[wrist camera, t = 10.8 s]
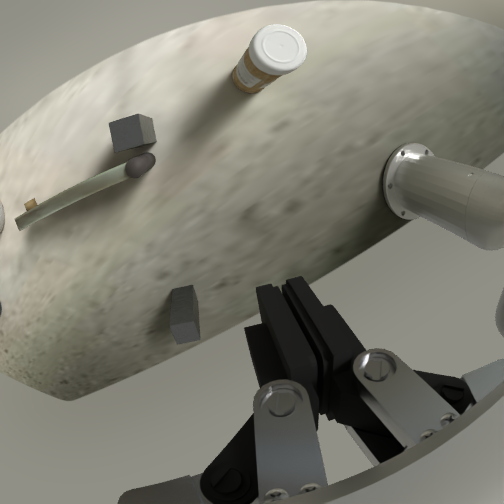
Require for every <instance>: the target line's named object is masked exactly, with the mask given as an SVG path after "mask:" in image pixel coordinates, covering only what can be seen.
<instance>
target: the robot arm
mask: <svg viewBox="0 0 504 504" xmlns="http://www.w3.org/2000/svg"><path fill="white" fill-rule="evenodd" d="M383 191H384V196H385V200H386V202H387V204H388V206H389V208H390V209H391V211H392V212H393V213H395V214H396V215H397V216H399V217H401V218H403V219H407V220H412V219H417V218H419V217H423V218H425V219H427V220H429V221H431V222H433V223H435V224H437V225H439V226H440V227H442V228H444V229H446V230H448V231H450V232H452V233H454V234H456V235H457V236H459V237H461V238H463V239H465V240H467V241H468V242H470V243H472V244H474V245H476V246H477V247H479V248H481V249H484V250H498V249H501V248H504V176H501V175H499V174H496V173H492V172H489V171H486V170H483V169H479V168H476V167H472V166H469V165H465V164H461V163H458V162H454V161H450V160H446V159H442V158H437V157H434V155H433V153H432V152H431V151H430V150H429V149H428V148H427V147H425V146H424V145H421V144H417V143H407V144H404V145H402V146H400V147H399V148H398V149H396V150H395V151H394V152H393V154H392V155H391V157H390V158H389V160H388V162H387V165H386V168H385V171H384V177H383ZM256 293H257V298H258V304H259V310H260V314H261V321H262V323H261V324H257V325H253V326H249V327H245V328H244V329H245V334H246V338H247V342H248V346H249V350H250V354H251V358H252V362H253V365H254V369H255V373H256V376H257V380H258V383H259V386H260V389H259V390H258V391H257V393H256V394H255V396H254V401H253V411H254V413H253V414H252V415H251V417H250V418H249V419H248V421H247V422H246V423H245V424H244V426H243V427H242V428H241V429H240V430H239V431H238V433H237V434H236V435H235V436H234V437H233V439H232V440H231V441H230V442H229V443H228V445H227V446H226V447H225V448H224V449H223V450H222V452H220V454H219V455H218V456H217V457H216V458H215V459H214V460H213V462H212V463H211V464H210V465H209V466H208V467H207V468H206V469H205V471H204V472H203V473H201V474H198V475H195V476H192V477H191V476H190V475H187V476H184V477H180V478H177V479H173V480H170V481H166V482H162V483H158V484H154V485H149V486H145V487H141V488H136V489H131V490H129V491H126V492H124V493H123V494H122V495H121V496H120V498H119V500H118V504H504V359H500V360H497V361H495V362H493V363H490V364H488V365H486V366H484V367H481V368H479V369H477V370H474V371H471V372H469V373H467V374H464V375H462V377H461V378H460V379H459V378H456V377H451V376H444V375H439V374H433V373H427V372H422V371H416V370H412V369H411V368H410V367H409V366H408V365H407V364H405V363H404V362H403V361H402V360H401V359H400V358H399V357H398V356H397V355H395V354H394V353H393V352H391V351H388V350H385V349H379V348H375V349H369V350H367V351H366V349H365V348H364V347H363V345H362V344H361V343H360V341H359V340H358V338H357V337H356V336H355V334H354V333H353V332H352V330H351V329H350V328H349V326H348V325H347V323H346V322H345V321H344V319H343V318H342V317H341V315H340V314H339V313H338V311H337V310H336V309H335V308H334V306H333V305H327V306H323V305H322V304H321V302H320V301H319V299H318V298H317V297H316V295H315V294H314V293H313V291H312V290H311V289H310V287H309V285H308V284H307V283H306V281H305V280H304V278H303V277H302V276H299V277H295V278H291V279H287V280H286V284H284V285H282V293H281V291H280V289H279V287H278V286H276V287H273V286H272V284H267V285H263V286H259V287H256ZM495 320H496V325H497V328H498V330H499V332H500V334H501V335H502V336H503V337H504V288H503V291H502V294H501V296H500V299H499V302H498V305H497V309H496V316H495ZM319 413H320V415H323V414H326V416H327V418H328V420H329V421H330V420H333V419H335V420H336V421H337V423H341V424H344V426H345V428H346V430H347V431H348V433H349V434H350V435H351V437H352V438H353V440H354V441H355V442H356V443H357V445H358V446H359V447H360V449H361V450H362V451H363V453H364V454H365V455H366V457H367V458H368V459H369V461H370V462H371V463H372V464H373V466H374V467H373V468H371V469H368V470H366V471H364V472H362V473H359V474H357V475H355V476H352V477H349V478H347V479H344V480H342V481H339V482H337V483H334V484H331V485H328V483H327V478H326V474H325V469H324V464H323V459H322V455H321V450H320V445H319V441H318V436H317V430H318V419H319Z"/></svg>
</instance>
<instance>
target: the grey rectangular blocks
mask: <svg viewBox="0 0 504 504" xmlns="http://www.w3.org/2000/svg"><path fill="white" fill-rule="evenodd" d="M109 127H110V132H111V137H112V142H113V147H114V152H115V153H116V152H120V151H123V150H128V149H132V148H135V147H139V146H142V145H146V144H150V143H153V142H157V141H156V136H155V131H154V126H153V121H152V118H149V117H147V116H144V115H141V114H135V115H132V116H129V117H126V118H122V119H119V120H116V121H113V122H110V123H109ZM169 326H170V329H171V331H172V333H173V336H174V338H175V340H176V343H177V344H182V343H187V342H192V341H197V340H200V326H199V310H198V300H197V297H196V294H195V290H194V287H193V285H189V286H185V287H180V288H176V289H173V290H172V301H171V312H170V325H169Z"/></svg>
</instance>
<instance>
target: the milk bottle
mask: <svg viewBox="0 0 504 504" xmlns="http://www.w3.org/2000/svg"><path fill="white" fill-rule="evenodd" d="M4 220H5V218H4V209H3V205H2V203H1V201H0V233H1V231H2V229H3V226H4Z"/></svg>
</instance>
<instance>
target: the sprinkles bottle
mask: <svg viewBox="0 0 504 504" xmlns="http://www.w3.org/2000/svg"><path fill="white" fill-rule="evenodd" d="M306 54H307V47H306V43H305V41H304V39H303V38H302V36H301V35H300V34H299V33H298V32H297V31H296V30H294V29H293V28H291V27H288V26H285V25H280V24H272V25H268V26H265V27H263V28H261V29H260V30H259V31H258V32H257V33H256V34H255V35H254V37H253V38H252V40H251V42H250V44H249V47H248V49H247V50H246V51H245V53H244V54H243V56H242V58H241V59H240V61H239V62H238V65H237V66H236V67H235V68H234V70H233V74H232V77H233V81H234V84H235V85H236V86H237V87H238V88H239V89H240V90H242V91H244V92H248V93H255V92H258V91H260V90H262V89H264V88H265V87H266V86H268V85H269V84H271V83H272V82H274V81H275V80H276V79H277V78H279V77H280V76H282V75H285V74H288V73H290V72H292V71H294V70H295V69H297V68H298V67H299V66H300V65H301V64H302V63H303V62H304V60H305V58H306Z"/></svg>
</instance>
